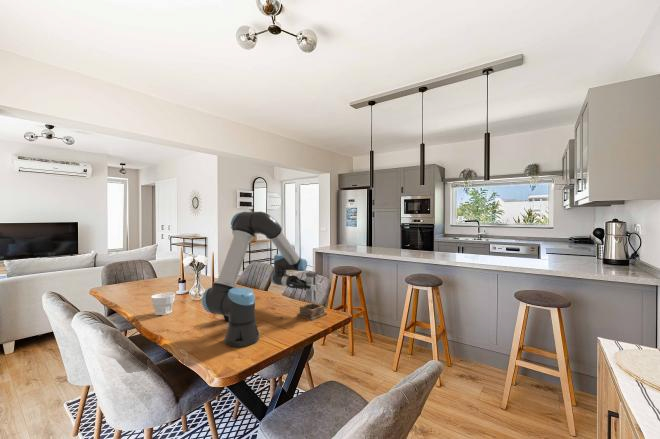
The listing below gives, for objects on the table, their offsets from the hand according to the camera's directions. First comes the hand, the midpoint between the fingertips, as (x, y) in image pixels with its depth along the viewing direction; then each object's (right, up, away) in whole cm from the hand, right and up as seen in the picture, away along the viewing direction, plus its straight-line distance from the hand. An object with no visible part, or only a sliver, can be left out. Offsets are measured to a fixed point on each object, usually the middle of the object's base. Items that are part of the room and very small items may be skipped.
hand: (318, 287), depth 164 cm
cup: (-92, -18, +10) cm, 94 cm away
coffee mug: (-50, -18, -1) cm, 53 cm away
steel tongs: (-4, -8, +4) cm, 10 cm away
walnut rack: (-4, -17, +4) cm, 18 cm away
